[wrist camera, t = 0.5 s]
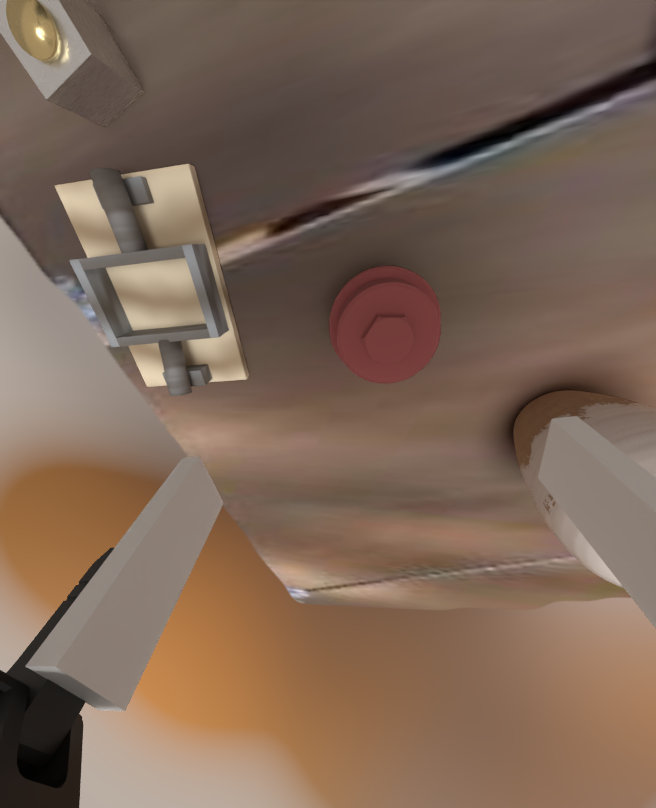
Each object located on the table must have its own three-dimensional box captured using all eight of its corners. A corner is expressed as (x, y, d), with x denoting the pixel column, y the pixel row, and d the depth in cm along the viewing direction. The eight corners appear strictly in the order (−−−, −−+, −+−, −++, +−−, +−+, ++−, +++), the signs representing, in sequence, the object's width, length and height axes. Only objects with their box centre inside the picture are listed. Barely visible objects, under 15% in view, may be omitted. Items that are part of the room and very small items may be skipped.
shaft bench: (65, 187, 29) (3, 176, 24) (194, 166, 28) (158, 149, 22) (152, 382, 40) (122, 404, 35) (249, 375, 38) (233, 396, 33)
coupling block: (61, 57, 25) (-27, 2, 19) (100, 16, 23) (19, -58, 18) (105, 127, 27) (38, 96, 21) (144, 92, 25) (84, 49, 20)
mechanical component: (386, 365, 36) (317, 323, 34) (439, 293, 32) (364, 240, 30) (401, 416, 26) (303, 360, 24) (485, 320, 21) (373, 240, 19)
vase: (630, 436, 39) (918, 636, 19) (511, 481, 44) (641, 674, 25) (605, 342, 33) (982, 491, 13) (471, 406, 38) (600, 582, 19)
